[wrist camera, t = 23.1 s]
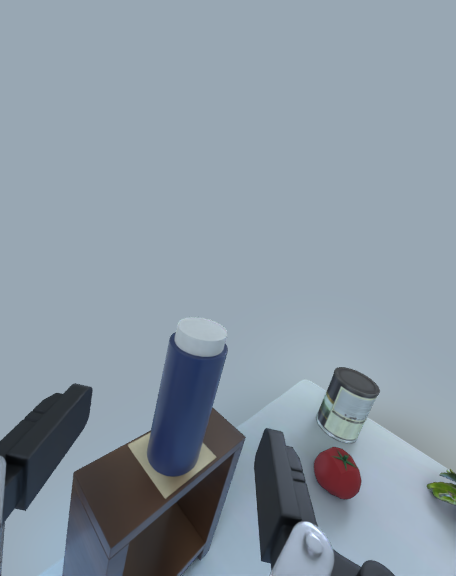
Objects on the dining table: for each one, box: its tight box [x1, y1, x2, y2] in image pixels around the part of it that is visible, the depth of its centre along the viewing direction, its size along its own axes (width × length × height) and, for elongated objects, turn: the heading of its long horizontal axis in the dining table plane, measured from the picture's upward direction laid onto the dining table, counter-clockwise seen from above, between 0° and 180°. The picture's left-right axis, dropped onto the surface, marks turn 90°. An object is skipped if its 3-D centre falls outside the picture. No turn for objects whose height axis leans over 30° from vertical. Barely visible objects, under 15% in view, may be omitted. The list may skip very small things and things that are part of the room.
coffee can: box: [316, 367, 380, 443], centre depth 64 cm, size 10×10×14 cm
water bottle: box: [147, 317, 228, 477], centre depth 24 cm, size 5×5×14 cm
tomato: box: [314, 447, 361, 499], centre depth 49 cm, size 8×8×7 cm
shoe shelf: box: [62, 407, 245, 576], centre depth 29 cm, size 16×7×20 cm, turn 138°
